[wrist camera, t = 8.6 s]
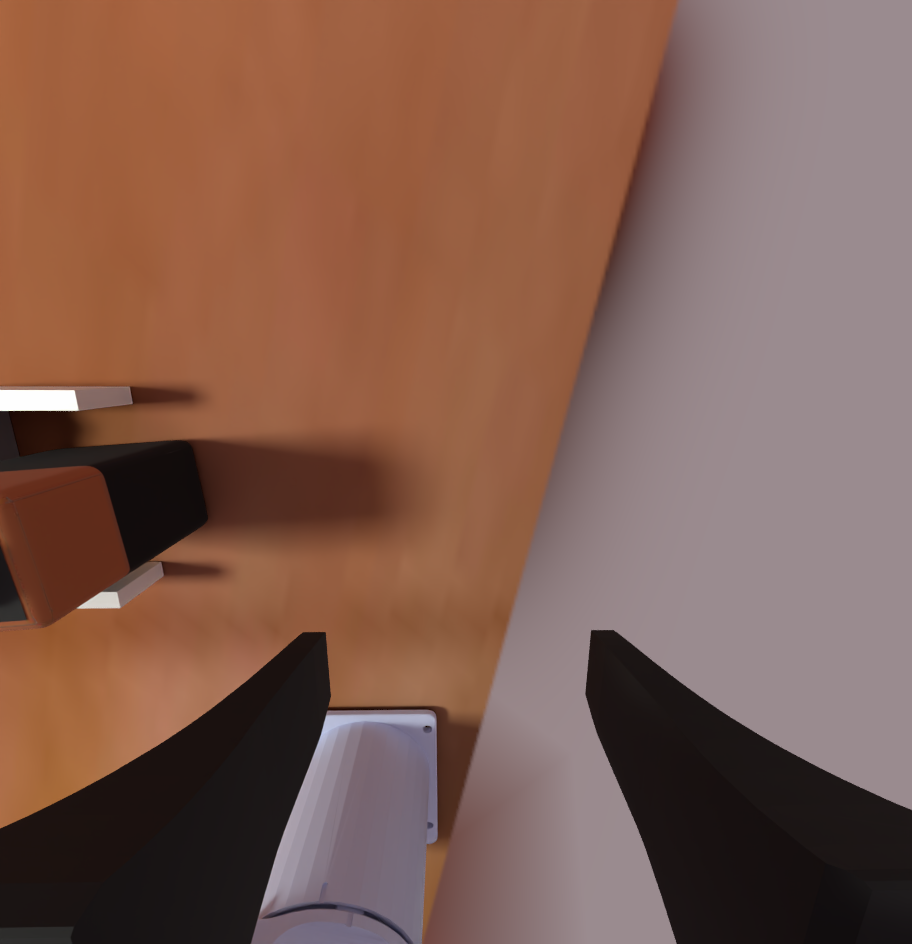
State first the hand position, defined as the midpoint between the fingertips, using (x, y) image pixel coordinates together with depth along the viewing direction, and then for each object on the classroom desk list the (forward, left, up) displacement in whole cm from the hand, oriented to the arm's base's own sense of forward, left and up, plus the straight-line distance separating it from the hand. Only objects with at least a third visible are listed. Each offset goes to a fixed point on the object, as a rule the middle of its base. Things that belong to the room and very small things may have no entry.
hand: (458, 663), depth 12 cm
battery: (+2, +16, -11) cm, 19 cm away
